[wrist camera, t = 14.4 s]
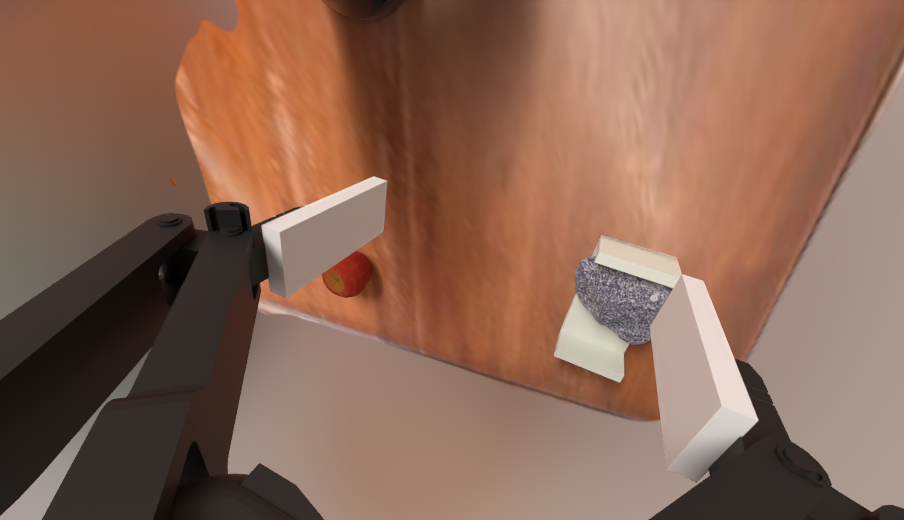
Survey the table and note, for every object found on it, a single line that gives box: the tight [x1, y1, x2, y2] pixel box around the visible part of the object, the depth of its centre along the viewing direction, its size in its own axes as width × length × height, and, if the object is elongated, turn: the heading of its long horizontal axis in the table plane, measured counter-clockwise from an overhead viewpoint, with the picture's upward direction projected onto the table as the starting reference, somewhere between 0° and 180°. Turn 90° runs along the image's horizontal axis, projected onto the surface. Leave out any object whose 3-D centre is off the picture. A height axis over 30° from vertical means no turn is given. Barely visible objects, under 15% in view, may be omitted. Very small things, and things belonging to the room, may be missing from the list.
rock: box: [575, 256, 673, 345], centre depth 45 cm, size 12×5×10 cm
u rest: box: [554, 234, 682, 383], centre depth 47 cm, size 9×17×6 cm, turn 170°
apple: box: [322, 251, 371, 298], centre depth 61 cm, size 8×8×8 cm
